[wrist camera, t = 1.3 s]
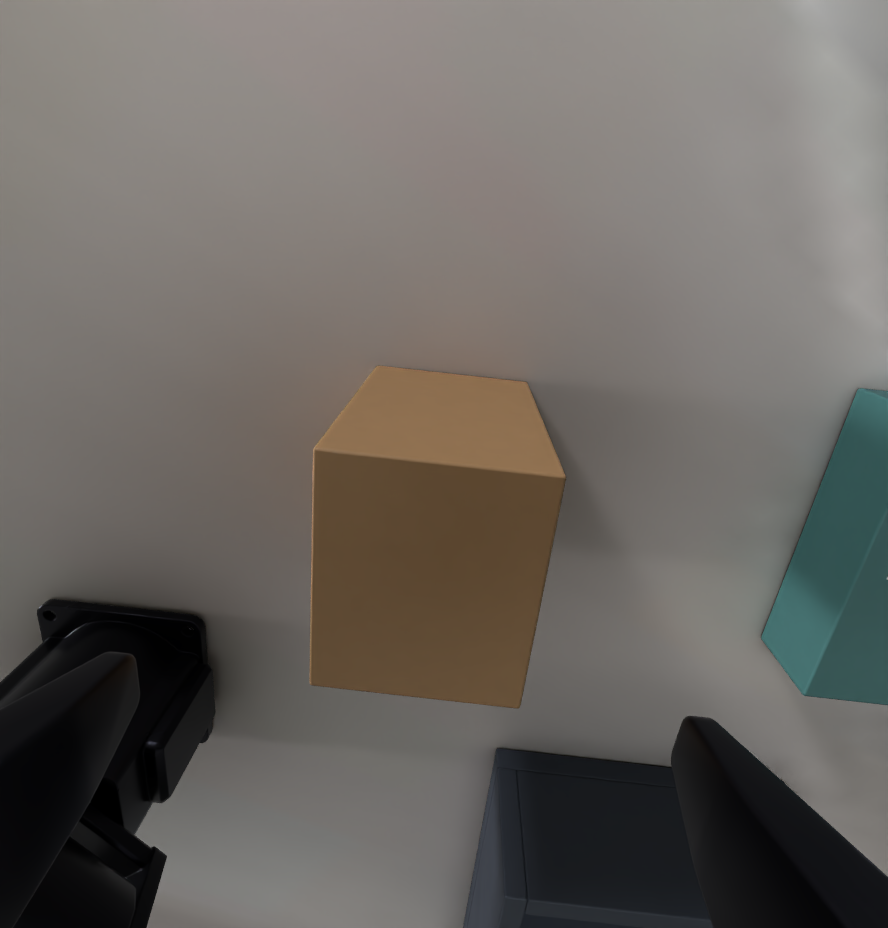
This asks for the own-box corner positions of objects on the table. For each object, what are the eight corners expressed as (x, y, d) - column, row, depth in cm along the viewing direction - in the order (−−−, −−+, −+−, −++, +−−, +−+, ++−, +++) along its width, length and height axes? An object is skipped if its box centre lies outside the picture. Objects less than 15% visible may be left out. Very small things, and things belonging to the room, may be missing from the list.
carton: (367, 525, 20) (308, 686, 13) (376, 364, 18) (312, 448, 11) (502, 540, 20) (520, 710, 13) (527, 381, 18) (567, 476, 11)
